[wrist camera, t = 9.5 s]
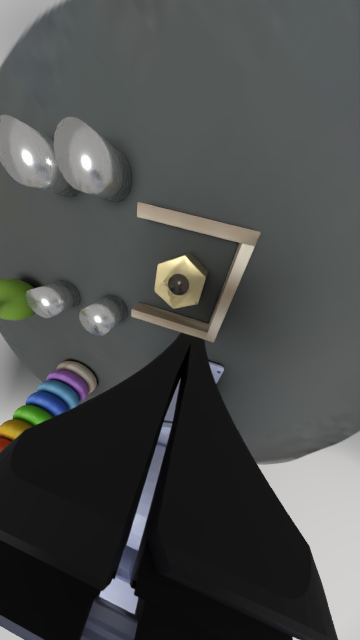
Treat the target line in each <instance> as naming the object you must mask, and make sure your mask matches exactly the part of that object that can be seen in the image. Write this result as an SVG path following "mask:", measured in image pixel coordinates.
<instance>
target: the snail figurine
mask: <svg viewBox="0 0 360 640" xmlns="http://www.w3.org/2000/svg"><path fill="white" fill-rule="evenodd" d="M31 289H34V287H33V286H31V285H30V284H28V283H26V282H24V281H21V280H16V279H0V318H2V319H6V320H22V319H26V318H29V317H31V316H32V315H34V314H35V312H34V311H33V310H32V309H31V307H30V306H29V305H28V303H27V300H26V292H27V291H28V290H31Z"/></svg>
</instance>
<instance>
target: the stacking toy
mask: <svg viewBox="0 0 360 640" xmlns="http://www.w3.org/2000/svg"><path fill="white" fill-rule="evenodd" d="M96 385H97V381H96V378H95V376H94V374H93V373H92V372H91V371H90V370H89V369H88V368H87V367H85V366H84V365H82V364H80V363H78V362H74V361H65V362H62V363H61V364H59V365H58V367H57V368H56V370H55V371H53V372H51V373H50V374H49V375H48V377H47V381H45V382H43V383H42V384H41V385H40V386H39V387H38V390H37V392H36V393H33V394H32V395H30V396H29V397H28V399H27V400H26V405H24V406H22V407H20V408H18V409H17V410H16V411H15V413H14V414H13V419H12V420H8V421H6V422H4V423H3V424H2V425H1V426H0V452H1V451H2V450H3V449H4V448H5V447H6V446H7V445H8V444H10V443H11V442H12V441H13V440H14V439H16V438H17V437H18V436H19V435H20V434H21V433H22V432H23V431H24V430H26V429H28V428H30V427H32V426H34V425H37V424H39V423H41V422H43V421H46V420H48V419H50V418H52V417H54V416H57V415H59V414H61V413H63V412H66V411H68V410H70V409H72V408H74V407H76V406H78V405H79V402H81V401H83V400H84V399H85V398H86V397H87V395H88V394H89V393H91V392H93V391H94V389H95V388H96Z"/></svg>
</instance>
